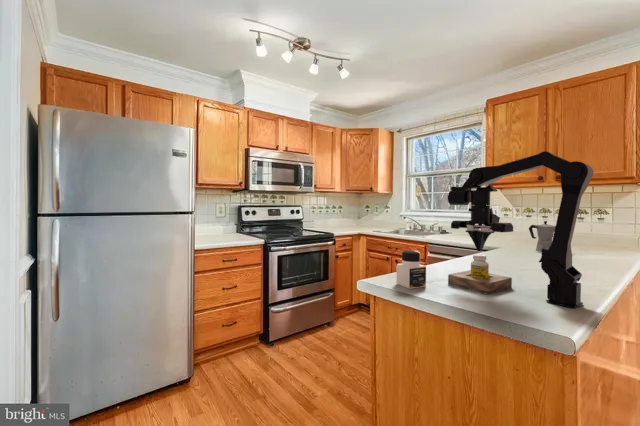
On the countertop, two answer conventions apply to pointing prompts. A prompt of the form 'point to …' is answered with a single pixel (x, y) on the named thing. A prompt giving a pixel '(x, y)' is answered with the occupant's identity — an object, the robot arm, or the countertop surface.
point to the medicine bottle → (411, 270)
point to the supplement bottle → (479, 267)
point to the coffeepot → (543, 235)
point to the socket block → (480, 282)
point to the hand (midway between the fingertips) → (479, 251)
